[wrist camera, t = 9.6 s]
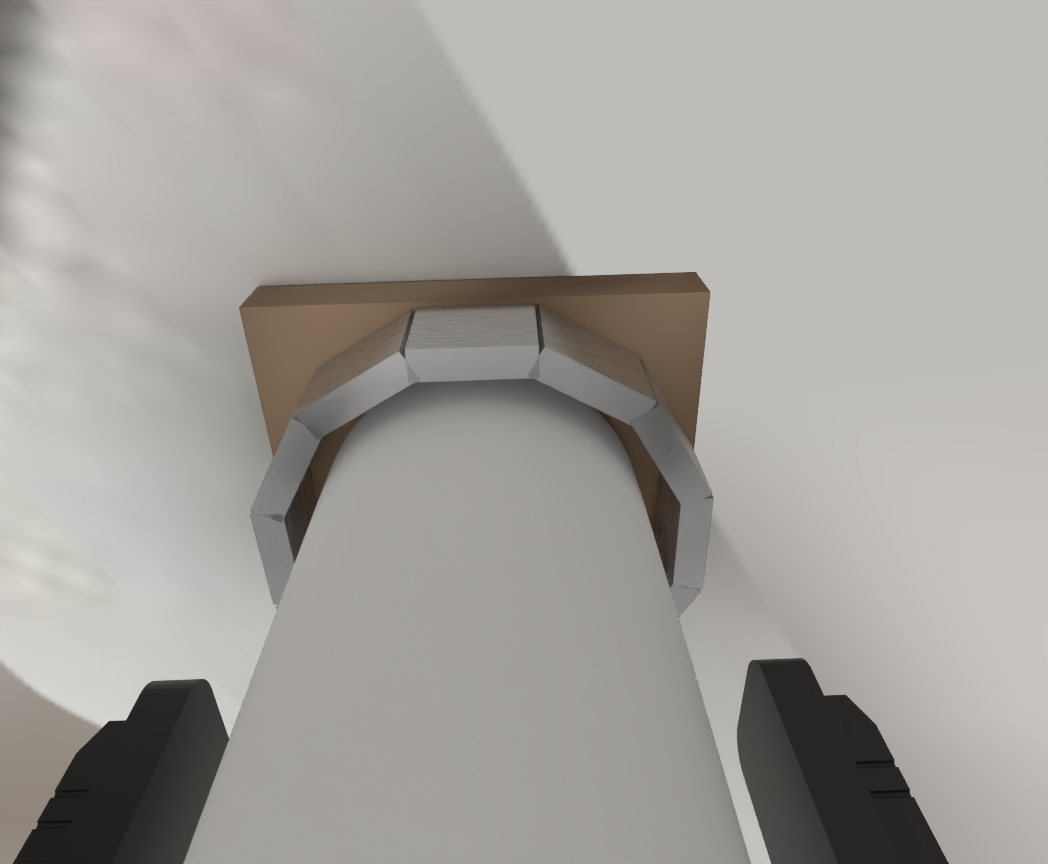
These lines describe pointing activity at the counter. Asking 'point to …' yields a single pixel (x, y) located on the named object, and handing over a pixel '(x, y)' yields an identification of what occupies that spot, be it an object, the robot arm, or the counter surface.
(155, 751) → the robot arm
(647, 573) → the can
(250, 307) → the board
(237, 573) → the counter surface
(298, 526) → the collar
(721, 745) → the counter surface
